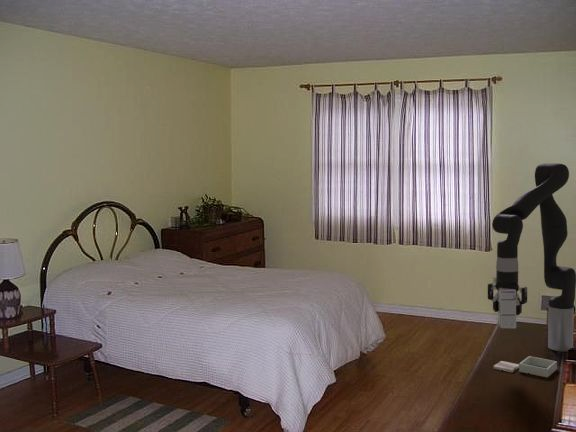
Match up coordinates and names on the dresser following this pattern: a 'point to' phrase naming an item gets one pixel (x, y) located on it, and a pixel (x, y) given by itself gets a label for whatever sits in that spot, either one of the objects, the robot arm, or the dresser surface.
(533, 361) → the bin
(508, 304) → the syrup box
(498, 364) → the pad
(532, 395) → the dresser surface
